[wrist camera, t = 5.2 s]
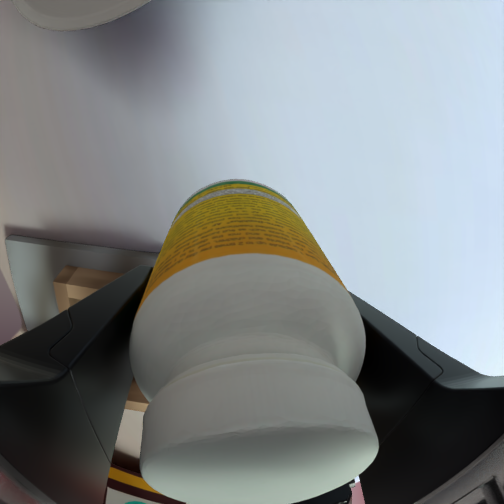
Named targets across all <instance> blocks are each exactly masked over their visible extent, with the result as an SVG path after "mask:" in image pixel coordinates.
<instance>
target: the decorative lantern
mask: <svg viewBox="0 0 504 504" xmlns="http://www.w3.org/2000/svg"><path fill="white" fill-rule="evenodd" d="M110 465H111V466H110V470H109V475H108V479H107V484H106V489H105V494H104V500H103V504H186V503H185V502H182V501H178V500H175V499H173V498H170V497H167V496H165V495H163V494H161V493H159V492H158V491H156V490H154V489H153V488H152V487H151V486H149V485H148V484H147V482H146V481H145V480H144V479H143V477H142V475H141V474H139V473H136V472H133V471H130V470H128V469H125V468H122V467H120V466H117V465H114V464H113V463H110Z"/></svg>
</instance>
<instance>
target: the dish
mask: <svg viewBox="0 0 504 504" xmlns="http://www.w3.org/2000/svg"><path fill="white" fill-rule="evenodd" d="M12 1H13V3H14V5H15V7H16V9H17V10H18V11H19V13H20V14H21V15H22V16H23V17H24V18H25V19H27V20H28V21H29V22H31V23H33V24H34V25H36V26H39V27H41V28H44V29H49V30H54V31H74V30H82V29H87V28H92V27H96V26H99V25H102V24H105V23H108V22H111V21H113V20H116V19H118V18H120V17H122V16H124V15H127V14H129V13H131V12H133V11H134V10H136V9H138V8H140V7H142V6H143V5H145V4H146V3H148V2H150V1H151V0H12Z"/></svg>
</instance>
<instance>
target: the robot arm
mask: <svg viewBox="0 0 504 504" xmlns="http://www.w3.org/2000/svg"><path fill="white" fill-rule="evenodd" d="M152 271H153V267H152V266H146V265H139V266H138V267H136V268H134V269H132V270H131V271H129V272H127V273H126V274H124V275H122V276H120V277H119V278H117V279H115V280H114V281H112V282H110V283H109V284H107V285H105V286H104V287H102V288H100V289H99V290H97V291H95V292H94V293H92V294H90V295H89V296H87V297H85V298H84V299H82V300H80V301H79V302H77V303H76V304H74V305H72V306H71V307H69V308H68V310H67V309H66V310H64V311H62V312H61V313H59V314H58V315H56V316H54V317H53V318H51V319H49V320H48V321H46V322H44V323H42V324H41V325H39V326H37V327H35V328H33V329H31V330H29V331H27V332H25V333H23V334H22V335H20V336H18V337H16V338H14V339H12V340H10V341H8V342H6V343H4V344H2V345H1V346H0V504H103V500H104V494H105V489H106V484H107V479H108V475H109V470H110V466H111V465H110V463H111V461H112V456H113V452H114V448H115V443H116V439H117V435H118V431H119V427H120V423H121V419H122V416H123V412H124V408H125V404H126V401H127V397H128V394H129V390H130V386H131V383H132V380H133V376H134V375H133V372H132V368H131V363H130V356H129V344H130V335H131V331H132V326H133V321H134V318H135V315H136V312H137V310H138V308H139V305H140V303H141V300H142V298H143V295H144V292H145V289H146V287H147V284H148V281H149V279H150V276H151V273H152ZM347 291H348V290H347ZM348 292H349V291H348ZM349 294H350V295H351V297H352V299H353V301H354V303H355V305H356V307H357V308H358V310H359V313H360V316H361V318H362V321H363V325H364V330H365V337H366V348H365V357H364V361H363V365H362V368H361V371H360V374H359V376H358V378H357V380H356V382H355V383H356V384H357V385H358V386H359V388H360V390H361V391H362V393H363V395H364V399H365V404H366V407H367V410H368V412H369V415H370V418H371V420H372V423H373V426H374V429H375V432H376V434H377V437H378V443H379V449H378V453H377V455H376V457H375V459H374V460H373V462H372V463H371V464H370V465H369V466H368V467H367V468H366V469H365V470H364V471H363V472H362V473H361V474H359V479H360V483H361V487H362V492H363V496H364V500H365V504H504V376H495V377H494V376H486V375H483V374H480V373H478V372H476V371H475V370H473V369H471V368H469V367H468V366H466V365H464V364H463V363H461V362H459V361H457V360H456V359H454V358H452V357H450V356H449V355H447V354H445V353H444V352H442V351H440V350H439V349H437V348H436V347H434V346H432V345H431V344H429V343H428V342H426V341H425V340H423V339H422V338H420V337H419V336H417V337H416V335H415V334H414V333H412V332H411V331H409V330H408V329H406V328H405V327H403V326H402V325H400V324H399V323H397V322H396V321H394V320H393V319H391V318H390V317H388V316H386V315H385V314H383V313H382V312H380V311H379V310H377V309H376V308H374V307H373V306H371V305H370V304H368V303H366V302H365V301H363V300H362V299H360V298H359V297H357V296H356V295H354V294H352V293H351V292H349ZM353 487H355V480H354V479H353V480H351V481H349V482H347V483H346V484H344V485H342V486H340V487H338V488H336V489H333V490H331V491H329V492H326V493H324V494H321V495H319V496H316V497H313V498H310V499H307V500H303V501H300V502H296V503H291V504H352V491H351V488H353Z"/></svg>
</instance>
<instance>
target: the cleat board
mask: <svg viewBox="0 0 504 504" xmlns="http://www.w3.org/2000/svg"><path fill="white" fill-rule="evenodd" d="M5 244H6V249H7V254H8V260H9V264H10V269H11V274H12V278H13V282H14V286H15V290H16V294H17V298H18V301H19V305H20V308H21V312H22V315H23V318H24V321H25V324H26V327H27V330H28V331H29V330H31V329H33V328H35V327H37V326H39V325H41V324H42V323H44V322H46V321H48V320H49V319H51V318H53V317H54V316H56V315H58V314H59V313H61V312H62V311H64V310H66V309H67V310H68V308H69V307H71V306H72V305H74V304H76V303H77V302H79V301H80V300H82V299H84V298H85V297H87V296H89V295H90V294H92V293H94V292H95V291H97V290H99V289H100V288H102V287H104V286H105V285H107V284H109V283H110V282H112V281H114V280H115V279H117V278H119V277H120V276H122V275H124V274H126V273H127V272H129V271H131V270H132V269H134V268H136V267H138V266H139V265H146V266H152V267H153V268H154V266H155V263H156V260H157V258H158V256H159V254H158V253H150V252H142V251H133V250H125V249H117V248H109V247H101V246H93V245H85V244H77V243H69V242H62V241H54V240H46V239H39V238H31V237H24V236H16V235H10V236H8V237H7V238H6V239H5ZM148 405H149V401H148V400H147V399H146V398H145V396H144V395H143V393H142V392H141V390H140V388H139V387H138V385H137V383H136V380H135V378H134V376H133V380H132V383H131V386H130V390H129V394H128V397H127V401H126V404H125V408H124V409H129V410H135V411H141V412H145V411H146V408H147V406H148Z"/></svg>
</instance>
